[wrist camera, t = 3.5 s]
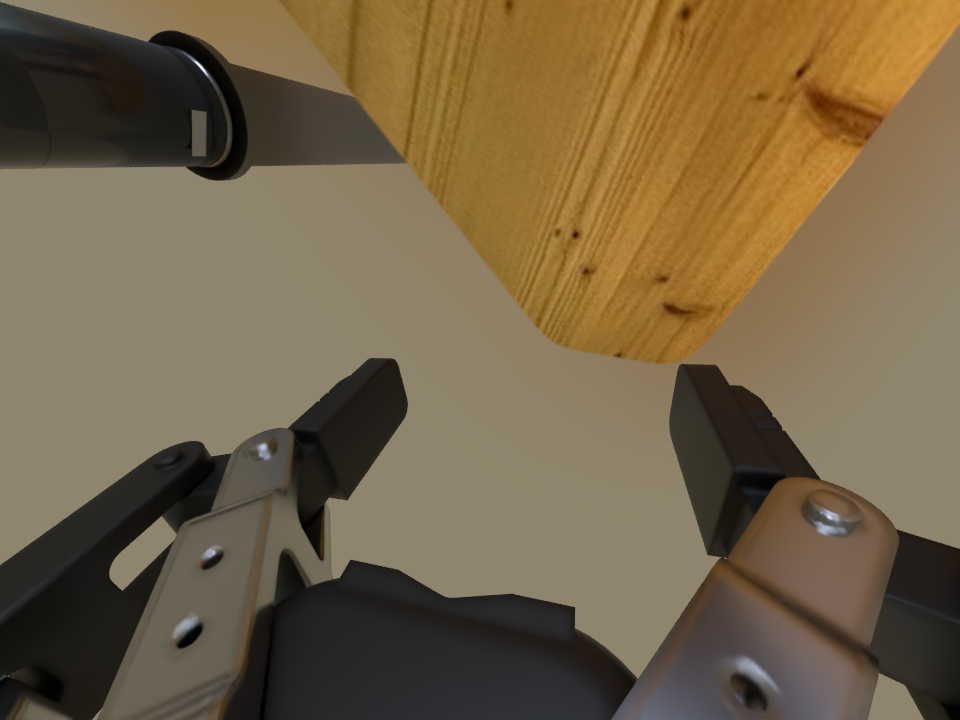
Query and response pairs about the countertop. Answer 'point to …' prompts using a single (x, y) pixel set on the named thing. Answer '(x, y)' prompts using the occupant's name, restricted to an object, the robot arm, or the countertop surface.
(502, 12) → the countertop surface
